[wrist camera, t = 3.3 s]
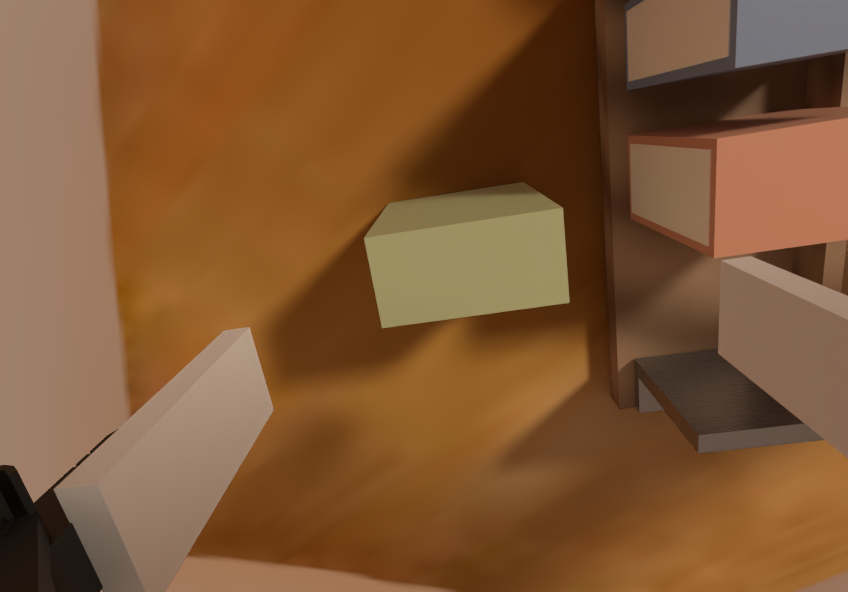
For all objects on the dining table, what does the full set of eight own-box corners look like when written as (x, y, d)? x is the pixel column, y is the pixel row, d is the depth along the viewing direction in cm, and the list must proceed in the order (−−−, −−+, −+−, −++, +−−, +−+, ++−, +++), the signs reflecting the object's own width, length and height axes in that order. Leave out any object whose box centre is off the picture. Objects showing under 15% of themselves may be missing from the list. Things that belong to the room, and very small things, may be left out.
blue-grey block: (623, 4, 24) (738, -75, 15) (794, -27, 24) (1029, -131, 14) (625, 90, 26) (733, 68, 16) (788, 63, 25) (1000, 23, 15)
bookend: (634, 358, 30) (698, 435, 23) (770, 341, 30) (882, 414, 22) (635, 407, 31) (697, 496, 24) (766, 392, 31) (872, 478, 23)
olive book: (388, 203, 29) (362, 238, 20) (523, 181, 29) (563, 207, 19) (399, 266, 31) (380, 328, 21) (529, 247, 30) (569, 302, 21)
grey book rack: (593, -29, 25) (736, -180, 13) (819, -73, 24) (1206, -278, 12) (611, 396, 33) (712, 556, 21) (783, 376, 32) (995, 530, 20)
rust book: (627, 135, 26) (715, 138, 18) (785, 110, 26) (955, 100, 17) (629, 218, 28) (712, 258, 19) (778, 196, 27) (934, 227, 19)
